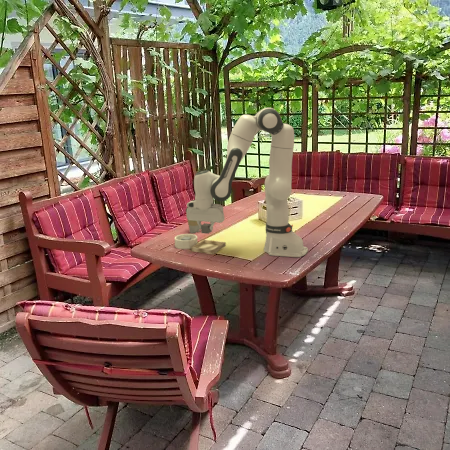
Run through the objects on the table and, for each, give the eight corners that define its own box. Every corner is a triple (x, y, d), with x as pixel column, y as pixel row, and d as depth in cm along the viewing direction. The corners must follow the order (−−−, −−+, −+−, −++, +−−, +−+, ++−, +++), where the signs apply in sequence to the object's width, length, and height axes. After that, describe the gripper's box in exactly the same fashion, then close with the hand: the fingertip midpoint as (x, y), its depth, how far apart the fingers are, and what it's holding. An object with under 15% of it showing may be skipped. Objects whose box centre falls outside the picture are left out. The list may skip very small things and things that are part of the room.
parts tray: (225, 247, 250) (225, 242, 249) (213, 256, 238) (213, 250, 237) (204, 244, 255) (204, 239, 255) (191, 252, 243) (190, 247, 243)
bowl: (201, 245, 255) (201, 235, 253) (190, 252, 245) (190, 242, 243) (182, 242, 260) (182, 232, 259) (170, 249, 250) (170, 239, 248)
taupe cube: (191, 244, 253) (191, 237, 252) (187, 246, 250) (187, 239, 249) (185, 243, 255) (184, 236, 254) (181, 245, 251) (181, 238, 250)
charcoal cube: (212, 231, 242) (211, 223, 241) (208, 233, 239) (207, 226, 238) (205, 230, 244) (204, 223, 243) (201, 233, 240) (200, 225, 239)
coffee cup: (188, 235, 273) (187, 209, 269) (185, 230, 282) (183, 206, 277) (204, 233, 275) (203, 208, 271) (200, 228, 284) (199, 204, 280)
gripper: (225, 202, 235) (227, 229, 239) (190, 200, 244) (192, 226, 248) (220, 205, 229) (221, 233, 233) (183, 203, 238) (186, 229, 242)
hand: (206, 229), depth 241 cm, fingers closed on charcoal cube, 4 cm apart
